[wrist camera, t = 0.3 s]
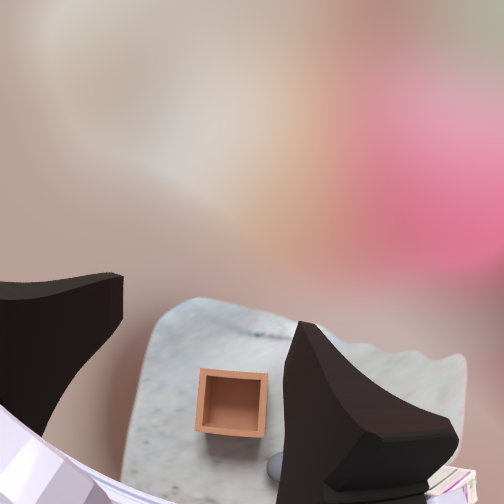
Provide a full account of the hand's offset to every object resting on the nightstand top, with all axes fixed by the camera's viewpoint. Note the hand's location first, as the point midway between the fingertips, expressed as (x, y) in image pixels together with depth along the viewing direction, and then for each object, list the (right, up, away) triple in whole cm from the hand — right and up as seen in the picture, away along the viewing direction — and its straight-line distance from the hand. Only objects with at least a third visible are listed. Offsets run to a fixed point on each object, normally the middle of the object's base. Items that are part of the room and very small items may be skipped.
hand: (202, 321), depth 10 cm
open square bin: (0, -18, +23) cm, 29 cm away
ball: (+6, -26, +19) cm, 33 cm away
